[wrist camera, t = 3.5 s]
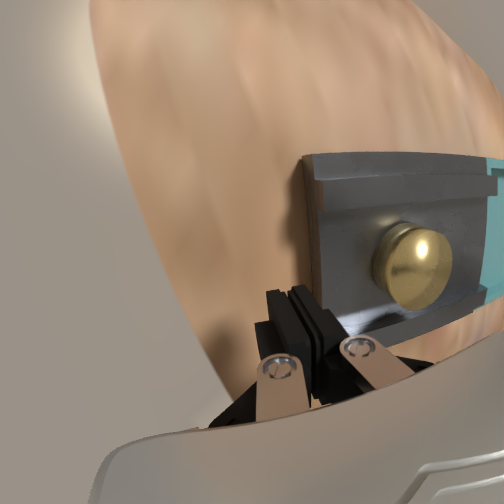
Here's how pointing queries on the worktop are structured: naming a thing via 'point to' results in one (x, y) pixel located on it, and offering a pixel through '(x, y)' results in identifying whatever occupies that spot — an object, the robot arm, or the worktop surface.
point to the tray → (494, 237)
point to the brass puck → (412, 265)
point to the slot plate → (385, 218)
